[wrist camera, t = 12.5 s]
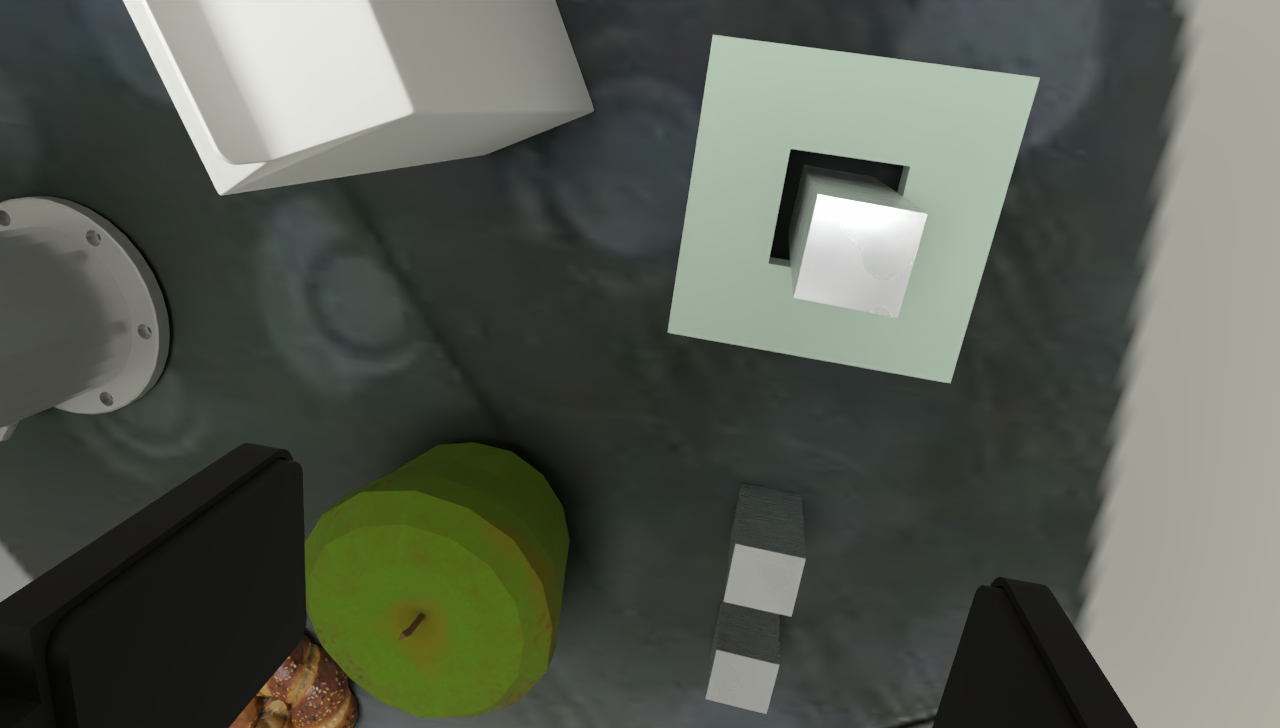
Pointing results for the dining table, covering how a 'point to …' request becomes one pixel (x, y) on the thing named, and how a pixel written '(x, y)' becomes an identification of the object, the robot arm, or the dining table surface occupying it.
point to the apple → (442, 581)
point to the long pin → (852, 241)
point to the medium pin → (766, 550)
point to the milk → (357, 82)
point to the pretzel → (303, 694)
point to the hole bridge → (856, 128)
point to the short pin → (744, 657)
